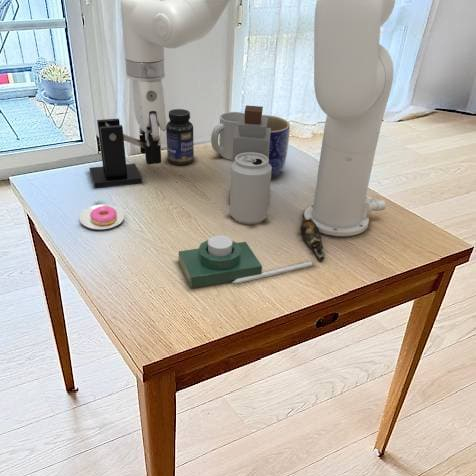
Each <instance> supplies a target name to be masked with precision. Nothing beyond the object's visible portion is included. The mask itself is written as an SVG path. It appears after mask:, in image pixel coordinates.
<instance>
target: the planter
mask: <svg viewBox="0 0 476 476" xmlns="http://www.w3.org/2000/svg"><path fill="white" fill-rule="evenodd" d="M262 117H268V121H267V127H266V128H271V133H270V146H269V162H268V163H269V164H270V165H271V166H272V171H271V178H274V177H276V176H278V175H279V174H280V173H281V172H282V170H283V169H284V167H285V165H286V163H287V162H286V161H287V156H288V151H289V150H288V149H289V144H290V143H289V142H290V132H291V131H290V130H291V124H290V122H289V121H288V120H287V119H285V118H283V117H279V116H275V115H269V114H262Z"/></svg>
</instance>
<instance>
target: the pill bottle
mask: <svg viewBox="0 0 476 476" xmlns="http://www.w3.org/2000/svg"><path fill="white" fill-rule="evenodd" d="M168 118H169V121H168V122H166V130H165V133H166V155H167V156H166V157H167V161H168V162H169V163H171V164H173V165H178V166H185V165H189V164H191V163H192V162H193V161H194V159H195V158H194V157H195V156H194V155H195V154H194V148H195V147H194V125H193V123H192V122H191V121H190V119H191V112H190V111H189V110H187V109H184V108H183V109H182V108H175V109H171V110H169V111H168Z"/></svg>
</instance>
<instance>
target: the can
mask: <svg viewBox="0 0 476 476" xmlns="http://www.w3.org/2000/svg"><path fill="white" fill-rule="evenodd" d="M268 162H269V159H268V157H267V156H265V155H263V154H260V153H254V152H246V153H241V154H238V155H237V156H236V157H235V161H234V162H233V163H231V166H230V187H229V189H230V191H229V193H230V194H229V215H230V216H231V218H233V219H234V220H235V221H236V222H238V223H240V224H244V225H257V224H260V223H261V222H262V221H264V220H266V219H267V217H268V216H269V205H270V194H271V193H270V192H271V182H272V177H271V171H272V166H271V165H270V164H269V163H268Z"/></svg>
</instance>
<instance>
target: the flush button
mask: <svg viewBox="0 0 476 476" xmlns="http://www.w3.org/2000/svg"><path fill="white" fill-rule="evenodd" d="M207 240H208V253H209V254H210V255H212V256H217V257H224V256H229V255H230V254H231V253H232V243H233V242H232V241H233V240H232V239H231V238H230V237H228V236H225V235H214V236H211V237H210V238H209V239H207Z"/></svg>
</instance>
